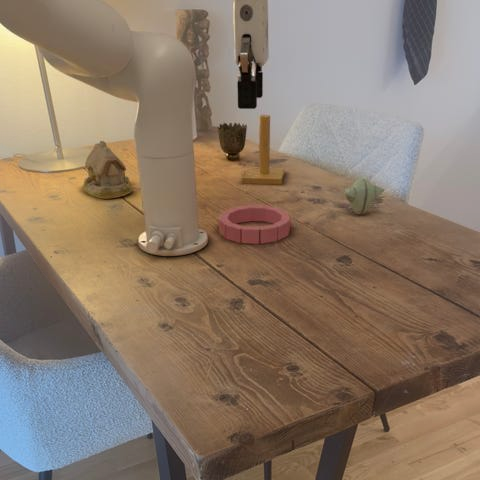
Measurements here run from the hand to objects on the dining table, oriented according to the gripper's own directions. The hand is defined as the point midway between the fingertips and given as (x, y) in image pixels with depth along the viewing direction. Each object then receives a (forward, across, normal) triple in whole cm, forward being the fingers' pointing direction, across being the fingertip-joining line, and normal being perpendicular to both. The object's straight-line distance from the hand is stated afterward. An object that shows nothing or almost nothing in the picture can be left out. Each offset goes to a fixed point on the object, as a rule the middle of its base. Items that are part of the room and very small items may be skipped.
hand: (250, 102), depth 100 cm
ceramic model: (+20, +15, +34) cm, 43 cm away
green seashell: (+21, +4, -22) cm, 30 cm away
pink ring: (+20, -8, -2) cm, 22 cm away
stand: (+20, +27, 0) cm, 34 cm away
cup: (+21, +43, +10) cm, 48 cm away
